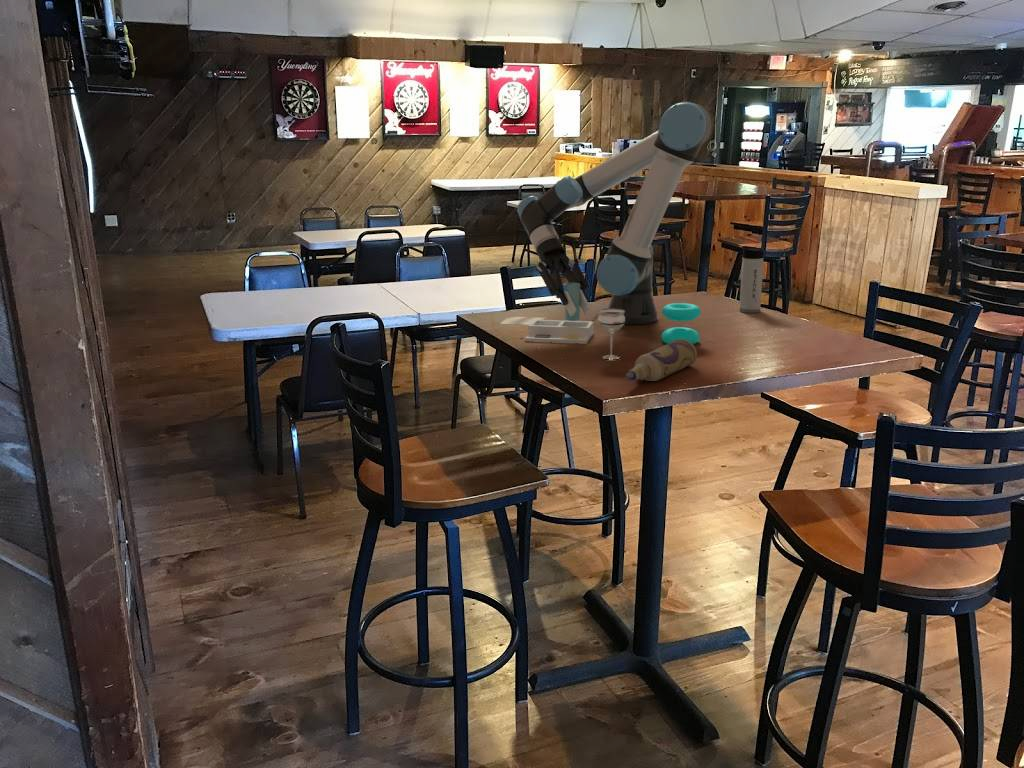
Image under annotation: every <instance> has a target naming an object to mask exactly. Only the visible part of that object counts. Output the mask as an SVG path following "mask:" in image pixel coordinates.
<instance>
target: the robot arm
mask: <svg viewBox="0 0 1024 768" xmlns="http://www.w3.org/2000/svg"><path fill="white" fill-rule="evenodd" d="M713 130H714V118H713V116H712V113H711V112H710V110H709V109H708V108H707V107H705V106H704V105H703V104H700V103H695V102H691V101H682V102H678V103H675V104H673V105H672V106H670V107H669V108H667V110H665V112H664V113H663V115H662V116H661V118H660V121H659V124H658V129H657V131H655V132H653V133H652V134H650V135H647V136H646V137H644V138H643V139H641V140H639V141H637V142H636V143H634V144H633V145H631V146H629V147H627V148H625V149H624V150H622V151H621V152H619V153H617V154H615V155H614V156H611V157H610V158H608V159H606V160H605V161H603V162H602V163H599V164H597V165H596V166H594V167H593V168H591V169H589V170H587V171H585V172H584V173H582V174H581V175H579V176H577V177H575V178H574V177H572V176H571V175H565V176H563V178H561V179H560V180H558V181H556V183H555V184H554V185H553V186H551V187H550V189H548V190H547V191H546V192H545V193H544V194H542V195H541V196H539V197H538V196H536V195H531V196H530V195H529V196H527V198H523V199H522V200H521V201H520V202H519V203H518V205H517V209H516V210H517V214H518V217H519V219H520V222H521V224H522V225H523V227H524V230H525V231H526V234H527V235H528V238H529V240H530V241H531V244H532V245H533V247H534V250H535V253H536V254H537V257H538V258H539V262H538V263H537V265H536V267H535V271H537V272H538V274H540V277H541V278H542V281H543V283H544V284H545V286H546V288H547V290H548V292H549V294H550V295H551V296H555V298H556V299H560V303H561V304H562V306H564V307H565V306H566V308H567V310H568V312H569V314H570V316H573V315H574V314H575V312H576V311H577V310H576V308H575V306H574V304H573V302H572V300H571V298H570V296H569V293H568V292H567V291H566V290H565V288H564V285H563V281H562V277H564V278H565V279H566V280H567V283H570V282H576V283H580V309H581V311H582V312H583V314H584V315H587V314H588V313H589V311H590V310H591V306H590V304H589V302H588V300H589V299H588V296H587V294H586V293H585V291H586V289H587V288H588V287H589V285H588V282H587V280H586V277H585V275H584V274H583V272H582V270H581V267H580V263H579V259H578V258H574V259H570V258H569V256H567V254H566V251H565V247H564V246H563V243H562V241H561V239H560V237H559V235H558V233H557V231H556V229H555V228H554V226H553V223H552V222H553V221H554V220H555V219H557V218H558V217H559V216H561V215H562V214H563V213H564V212H565V211H567V210H569V209H573V208H576V207H581V206H584V205H585V204H586V203H587V202H589V201H590V200H592V199H594V198H595V197H597V196H599V195H601V194H602V193H604V192H606V191H607V190H609V189H612V188H613V187H614V186H616V185H618V184H620V183H622V182H624V181H626V180H627V179H629V178H631V177H634V176H635V175H637V174H639V173H640V172H642V171H644V170H645V169H647V168H649V169H648V172H647V174H646V176H645V178H644V180H643V183H642V186H641V187H640V189H639V192H638V195H637V197H636V199H635V202H634V204H633V205H632V209H631V210H630V214H629V216H628V217H627V220H626V222H625V224H624V227H623V230H622V232H621V234H620V236H619V237H617V238H613V239H612V241H611V244H610V245H609V248H608V250H607V253H606V255H605V257H603V259H601V261H600V262H599V265H598V266H597V270H596V279H597V281H598V283H599V286H600V288H602V289H603V290H604V291H605V292H606V293H607V294H610V295H611V298H610V301H609V304H608V308H607V309H609V308H615V309H622V310H625V313H624V316H625V323H624V325H646V324H651V323H655V322H656V321H657V320H658V311H657V307H656V304H655V302H654V297H653V294H652V293H653V264H654V263H653V262H654V259H653V258H654V249H653V245H652V243H653V240H654V238H655V236H656V233H657V232H658V229H659V226H660V224H661V222H662V219H663V218H664V215H665V213H666V211H667V208H668V206H669V205H670V202H671V200H672V197H673V195H674V193H675V191H676V188H677V187H678V184H679V182H680V180H681V177H682V175H683V173H684V171H685V168H686V167H687V166H689V165H691V164H694V163H695V159H696V158H697V156H698V153H699V151H700V149H701V147H702V145H703V144H705V143H706V142H707V141H708V140H709V139H710V137H711V135H712V133H713ZM561 276H562V277H561Z"/></svg>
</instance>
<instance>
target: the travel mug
mask: <svg viewBox="0 0 1024 768" xmlns="http://www.w3.org/2000/svg"><path fill="white" fill-rule="evenodd" d="M741 249H742V261H741V274H740V275H741V277H740V293H739V312H741V313H744V314H756V313H757V314H758V313H760V312H761V305H762V292H763V291H762V289H763V288H762V287H763V274H764V273H763V272H764V261H765V260H764V258H765V257H764V256H765V255H764V254H765V249H763V248H761V247H758V246H757V247H756V246H747V245H743V246H741Z"/></svg>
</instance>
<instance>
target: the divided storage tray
mask: <svg viewBox="0 0 1024 768" xmlns="http://www.w3.org/2000/svg"><path fill="white" fill-rule="evenodd" d="M527 326H528V329H527V332H528V334H527V335H526V336H525V338H524V342H525V341H530V343H532V342H531V341H533V343H550V342H552V343H554V342H555V343H554V344H575V343H579V344H580V345H581V344H582V345H587V344H588V342H589V341H590V340H591V338H592V336H593V335H594V321H588V320H587V321H585V320H577V321H568V320H558V319H557V320H556V319H555V320H553V319H545V320H534V321H533V322H532V323H531V324H530V325H527ZM552 343H551V344H552ZM579 344H578V345H579Z"/></svg>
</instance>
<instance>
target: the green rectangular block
mask: <svg viewBox="0 0 1024 768" xmlns="http://www.w3.org/2000/svg"><path fill="white" fill-rule="evenodd" d="M565 291H567V292H568V293H569V296H570V298H571V300H572V302H573V304H574V306H575V308H576V310H577V311H576V312H575V314H574V315H573V316H570V314H569V312H568V310H567V308H566V306H565V305H564V307H565V314H564V315H565V317H564V319H565V320H564V321H581V306H580V283H576V282H570V283H569V282H566V283H565Z"/></svg>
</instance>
